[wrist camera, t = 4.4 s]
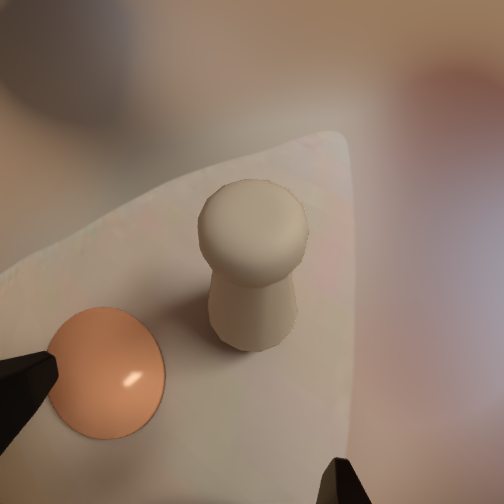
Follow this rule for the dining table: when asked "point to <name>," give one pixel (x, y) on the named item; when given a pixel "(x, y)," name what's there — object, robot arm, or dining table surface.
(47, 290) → the dining table surface
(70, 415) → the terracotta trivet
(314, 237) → the dining table surface
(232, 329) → the salt shaker
